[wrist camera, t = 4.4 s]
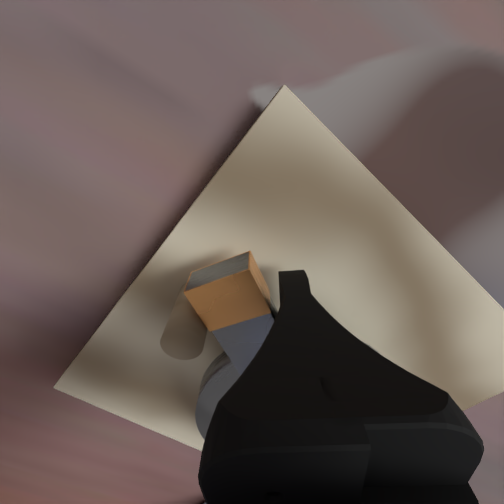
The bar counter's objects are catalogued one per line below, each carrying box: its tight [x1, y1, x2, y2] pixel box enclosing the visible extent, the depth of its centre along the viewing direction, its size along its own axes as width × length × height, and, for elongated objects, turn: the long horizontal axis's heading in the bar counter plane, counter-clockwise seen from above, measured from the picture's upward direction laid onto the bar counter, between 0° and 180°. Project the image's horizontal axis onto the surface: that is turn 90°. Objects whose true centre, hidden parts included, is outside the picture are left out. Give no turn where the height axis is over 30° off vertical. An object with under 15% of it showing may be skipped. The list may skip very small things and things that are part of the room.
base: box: [53, 85, 504, 451], centre depth 14 cm, size 20×20×6 cm
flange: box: [183, 251, 381, 440], centre depth 13 cm, size 14×10×1 cm
